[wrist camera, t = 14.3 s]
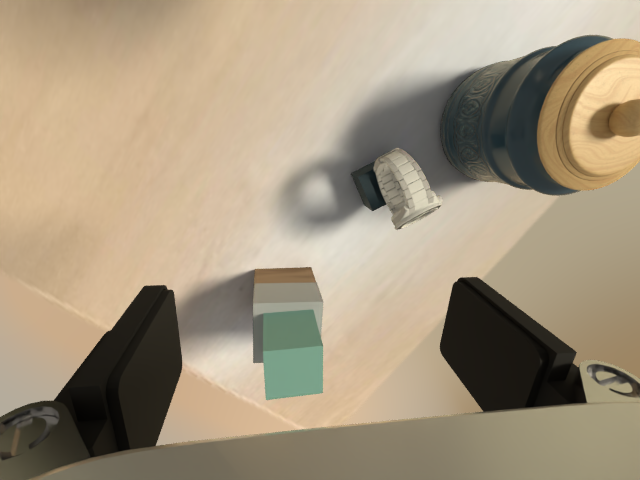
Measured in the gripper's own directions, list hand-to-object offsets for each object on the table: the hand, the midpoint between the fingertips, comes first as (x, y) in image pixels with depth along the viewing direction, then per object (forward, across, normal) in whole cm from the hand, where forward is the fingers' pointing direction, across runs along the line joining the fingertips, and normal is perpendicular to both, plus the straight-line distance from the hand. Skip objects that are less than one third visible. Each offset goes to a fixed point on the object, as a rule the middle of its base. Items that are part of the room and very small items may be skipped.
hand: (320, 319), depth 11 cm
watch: (+28, -11, 0) cm, 31 cm away
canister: (+29, -24, -7) cm, 38 cm away
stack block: (+19, 0, +14) cm, 24 cm away
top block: (+23, 0, +15) cm, 27 cm away
